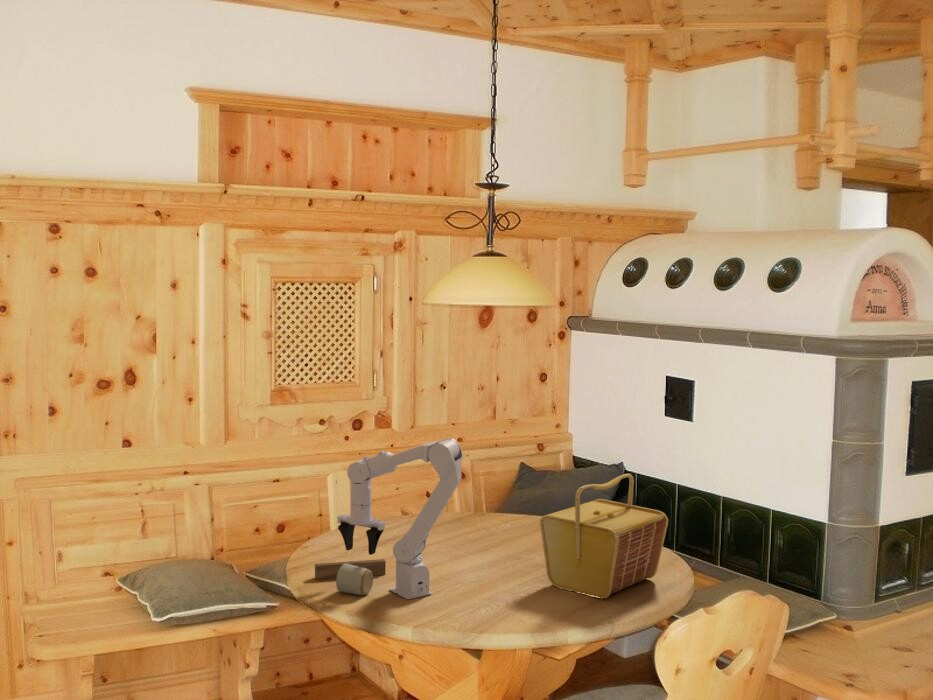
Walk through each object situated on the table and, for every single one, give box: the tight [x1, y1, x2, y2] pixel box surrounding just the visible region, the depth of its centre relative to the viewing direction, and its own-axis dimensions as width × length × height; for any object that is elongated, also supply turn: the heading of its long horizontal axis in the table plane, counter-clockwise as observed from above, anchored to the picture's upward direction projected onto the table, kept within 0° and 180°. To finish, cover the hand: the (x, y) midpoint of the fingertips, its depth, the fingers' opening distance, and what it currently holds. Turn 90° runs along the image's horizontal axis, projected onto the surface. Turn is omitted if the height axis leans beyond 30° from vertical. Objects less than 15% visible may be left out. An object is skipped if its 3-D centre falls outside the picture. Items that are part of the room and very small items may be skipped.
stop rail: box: [314, 558, 387, 581], centre depth 286 cm, size 2×20×4 cm, turn 107°
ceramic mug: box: [335, 564, 374, 596], centre depth 273 cm, size 11×8×8 cm
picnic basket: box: [539, 473, 669, 599], centre depth 284 cm, size 29×26×30 cm
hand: (360, 551), depth 278 cm, fingers open, 7 cm apart
